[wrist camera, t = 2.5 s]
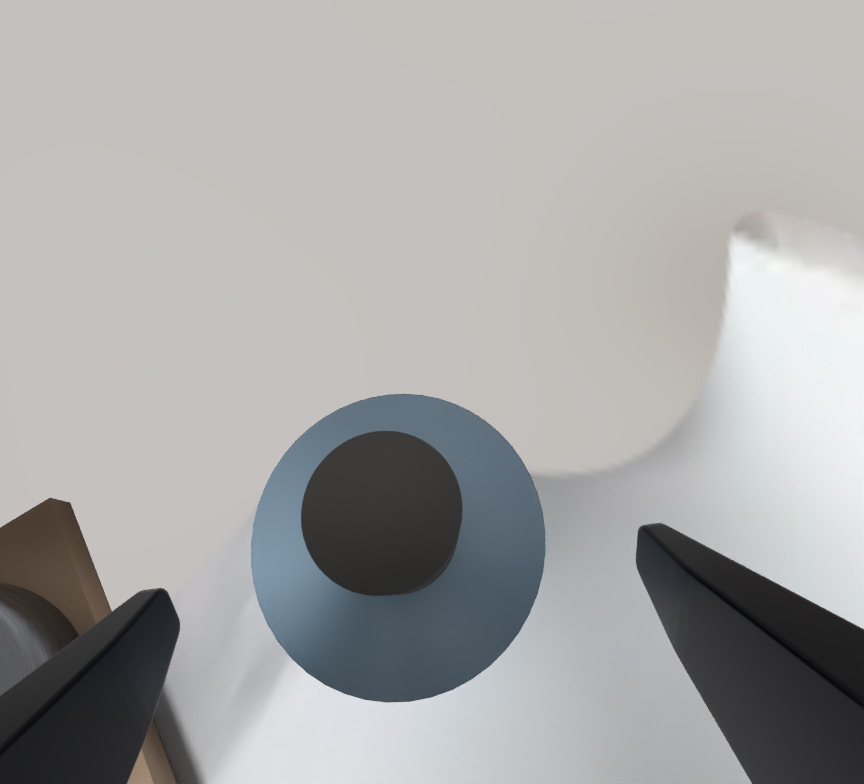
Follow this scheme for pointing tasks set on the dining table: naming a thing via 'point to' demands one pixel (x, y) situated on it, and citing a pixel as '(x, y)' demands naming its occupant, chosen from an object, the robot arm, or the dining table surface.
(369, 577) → the blue capped bottle
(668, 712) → the dining table surface
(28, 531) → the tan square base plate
